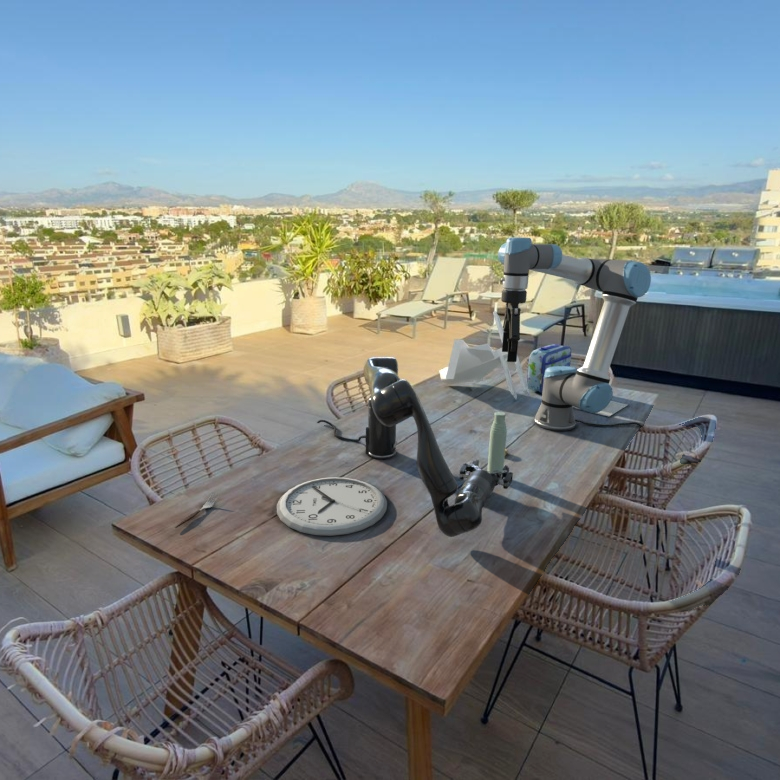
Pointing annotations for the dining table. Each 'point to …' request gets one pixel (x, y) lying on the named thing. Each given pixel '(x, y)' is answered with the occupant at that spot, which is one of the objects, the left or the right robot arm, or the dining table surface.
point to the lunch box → (546, 363)
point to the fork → (206, 505)
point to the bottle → (497, 443)
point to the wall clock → (331, 506)
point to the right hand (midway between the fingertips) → (508, 356)
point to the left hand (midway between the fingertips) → (491, 465)
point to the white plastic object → (479, 363)
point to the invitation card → (611, 408)
